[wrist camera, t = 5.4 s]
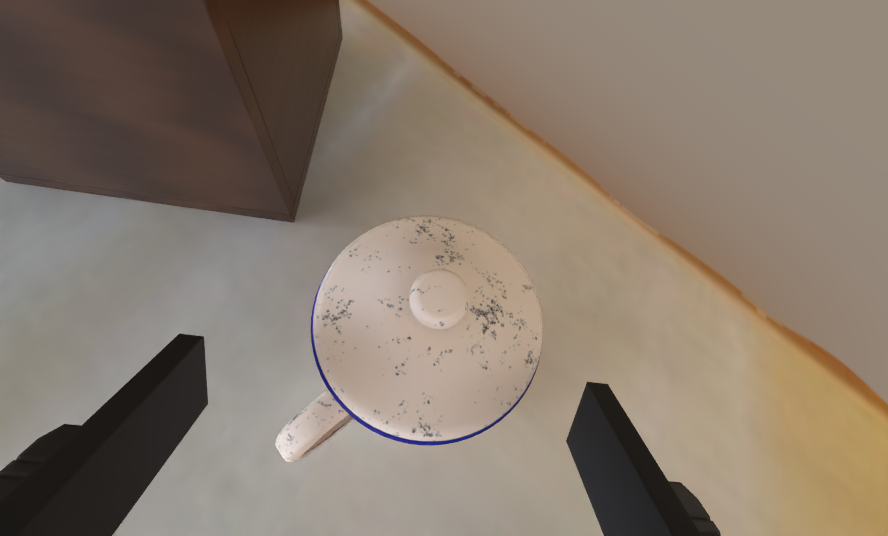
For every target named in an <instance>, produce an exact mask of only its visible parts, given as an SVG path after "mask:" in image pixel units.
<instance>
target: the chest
mask: <svg viewBox="0 0 888 536" xmlns="http://www.w3.org/2000/svg"><path fill="white" fill-rule="evenodd" d="M341 41H342V28H341V18H340V7H339V0H0V178H2V179H3V180H5V181H7V182H14V183H21V184H28V185H35V186H42V187H49V188H56V189H63V190H70V191H77V192H84V193H91V194H98V195H105V196H112V197H119V198H126V199H133V200H140V201H147V202H154V203H161V204H168V205H175V206H182V207H190V208H197V209H204V210H211V211H218V212H225V213H232V214H239V215H246V216H253V217H260V218H267V219H274V220H281V221H288V222H294V219H295V215H296V211H297V208H298V204H299V200H300V196H301V192H302V189H303V185H304V181H305V177H306V174H307V170H308V166H309V162H310V158H311V155H312V151H313V147H314V143H315V139H316V136H317V132H318V128H319V124H320V121H321V117H322V113H323V109H324V105H325V102H326V98H327V94H328V90H329V86H330V83H331V79H332V75H333V71H334V68H335V64H336V60H337V56H338V52H339V49H340V45H341Z"/></svg>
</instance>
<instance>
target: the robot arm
mask: <svg viewBox="0 0 888 536" xmlns="http://www.w3.org/2000/svg"><path fill="white" fill-rule="evenodd" d="M207 404H208V396H207V380H206V364H205V347H204V337H203V336H194V335H186V334H179V335H178V336H176V337H175V338H174V339H173V340H172V341H171V342H170V343H169V344H168V345H167V346H166V347H165V348H164V349H163V350H162V351H161V352H159V353H158V354H157V355H156V356H155V357H154V358H153V359H152V360H151V361H150V362H149V363H148V364H147V365H146V366H145V367H143V368H142V369H141V370H140V371H139V372H138V373H137V374H136V375H135V376H134V377H133V378H132V379H131V380H130V381H129V382H128V383H126V384H125V385H124V386H123V387H122V388H121V389H120V390H119V391H118V392H117V393H116V394H115V395H114V396H113V397H112V398H111V399H109V400H108V401H107V402H106V403H105V404H104V405H103V406H102V407H101V408H100V409H99V410H98V411H97V412H96V413H95V414H94V415H92V416H91V417H90V418H89V419H88V420H87V421H86V422H85V423H84V424H83V425H82V426H79V425H69V424H64V425H62V426H60V427H58V428H57V429H55V430H53V431H51V432H49V433H47V434H46V435H44V436H42V437H40V438H38V439H37V440H36V441H35V442H34V443H33V444H31V445H30V446H29V447H28V448H27V449H26V450H24V451H23V452H22V453H21V454H20V455H19V456H18V457H17V459H16V460H13V461H12V462H11V463H10V464H8V465H7V466H6V467H5V468H4V469H3V470H1V471H0V536H112V535H113V534H114V532H115V531H116V530H117V528H118V527H119V525H120V524H121V523H122V521H123V520H124V519H125V517H126V516H127V514H128V513H129V512H130V510H131V509H132V508H133V506H134V505H135V503H136V502H137V501H138V499H139V498H140V497H141V495H142V494H143V492H144V491H145V490H146V488H147V487H148V485H149V484H150V483H151V481H152V480H153V479H154V477H155V476H156V474H157V473H158V472H159V470H160V469H161V468H162V466H163V465H164V463H165V462H166V461H167V459H168V458H169V457H170V455H171V454H172V452H173V451H174V450H175V448H176V447H177V446H178V444H179V443H180V441H181V440H182V439H183V437H184V436H185V435H186V433H187V432H188V430H189V429H190V428H191V426H192V425H193V424H194V422H195V421H196V419H197V418H198V417H199V415H200V414H201V413H202V411H203V410H204V408H205V407H206V406H207ZM566 441H567V444H568V446H569V449H570V451H571V454H572V456H573V459H574V461H575V464H576V466H577V469H578V471H579V474H580V477H581V479H582V482H583V484H584V487H585V489H586V492H587V494H588V497H589V499H590V502H591V504H592V507H593V509H594V512H595V514H596V517H597V519H598V522H599V524H600V527H601V529H602V532H603V534H604V536H721V535H720V531H719V530H718V528H717V527H716V525H715V524H714V522H713V521H711V520H710V516H709V515H708V513H707V512H706V510H705V509H704V507H703V506H702V504H701V503H700V502H699V500H698V499H697V498H696V497H695V496H694V495H693V494H692V493H691V492H690V491H689V490H688V489H687V488H686V487H685V486H684V485H683V484H682V483H680V482H669V481H668V480H667V479H666V477H665V475H664V474H663V472H662V471H661V469H660V467H659V466H658V464H657V463H656V461H655V459H654V458H653V456H652V455H651V453H650V451H649V450H648V448H647V447H646V445H645V443H644V442H643V440H642V439H641V437H640V435H639V434H638V432H637V430H636V429H635V427H634V426H633V424H632V422H631V421H630V419H629V418H628V416H627V414H626V413H625V411H624V410H623V408H622V406H621V405H620V403H619V402H618V400H617V398H616V397H615V395H614V394H613V392H612V390H611V389H610V387H609V385H608V384H601V383H593V382H587V384H586V387H585V390H584V392H583V395H582V398H581V401H580V404H579V407H578V409H577V412H576V415H575V418H574V421H573V423H572V426H571V429H570V432H569V435H568V437H567V440H566Z"/></svg>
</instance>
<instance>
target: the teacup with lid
mask: <svg viewBox="0 0 888 536" xmlns="http://www.w3.org/2000/svg"><path fill="white" fill-rule="evenodd" d="M542 332H543V327H542V316H541V310H540V305H539V302H538V298H537V295H536V292H535V290H534V287H533V285H532V283H531V281H530V279H529V277H528V275H527V273H526V272H525V270H524V268H523V267H522V266H521V264H520V263H519V262H518V260H517V259H516V258H515V257H514V256H513V254H512V253H511V252H510V251H509V250H508V249H507V248H506V247H505V246H504V245H502V244H501V243H500V242H499V241H497V240H496V239H495V238H493V237H492V236H490V235H489V234H487V233H486V232H484V231H482V230H480V229H479V228H476V227H474V226H472V225H470V224H467V223H464V222H461V221H458V220H454V219H450V218H445V217H437V216H414V217H406V218H401V219H397V220H393V221H389V222H387V223H384V224H381V225H379V226H377V227H375V228H373V229H371V230H369V231H367V232H366V233H364V234H362V235H361V236H360V237H358V238H357V239H355V240H354V241H353V242H352V243H351V244H350V245H348V246H347V247H346V248H345V249H344V250H343V251H342V252H341V254H340V255H339V256H338V257H337V258H336V259H335V261H334V262H333V263H332V265H331V266H330V268H329V269H328V271H327V272H326V274H325V276H324V278H323V280H322V282H321V284H320V286H319V289H318V292H317V294H316V297H315V301H314V305H313V311H312V317H311V340H312V347H313V353H314V357H315V361H316V364H317V367H318V370H319V372H320V375H321V377H322V379H323V381H324V383H325V385H326V387H327V388H328V390H327V391H326V392H324V393H323V394H322V395H320V396H319V397H318V398H317V399H315V400H314V401H313V402H312V403H310V404H309V405H308V406H307V407H306V408H304V409H303V410H302V411H301V412H300V413H299V414H297V415H296V416H295V417H294V418H293V419H292V420H291V421H290V422H289V423H288V424H287V425H286V426H285V427H284V428H283V429H282V430H281V432H280V433H279V435H278V436H277V439H276V447H277V449H278V451H279V452H280V454H281V455H282V457H283V458H284V459H285V460H286V461H288V462H296V461H298V460H301V459H302V458H304V457H306V456H307V455H309V454H310V453H312V452H313V451H315V450H316V449H318V448H319V447H320V446H322V445H323V444H324V443H326V442H327V441H328V440H329V439H331V438H332V437H333V436H334V435H336V434H337V433H338V432H339V431H341V430H342V429H343V428H344V427H345V426H347V425H348V424H349V423H350V422H351V421H353V420H354V419H355V420H357V421H358V422H359V423H360V424H362V425H363V426H365V427H367V428H368V429H370V430H372V431H373V432H376V433H378V434H380V435H382V436H384V437H387V438H390V439H393V440H395V441H399V442H404V443H408V444H416V445H442V444H449V443H454V442H459V441H462V440H465V439H468V438H471V437H473V436H475V435H478V434H480V433H482V432H484V431H485V430H487V429H489V428H491V427H492V426H494V425H495V424H496V423H498V422H499V421H501V420H502V419H503V418H504V417H505V416H506V415H507V414H508V413H510V412H511V410H512V409H513V408H514V407H515V406H516V405H517V404H518V402H519V401H520V400H521V398H522V397H523V396H524V394H525V392H526V391H527V389H528V387H529V386H530V384H531V381H532V379H533V377H534V375H535V372H536V369H537V366H538V363H539V358H540V354H541V347H542Z"/></svg>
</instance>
